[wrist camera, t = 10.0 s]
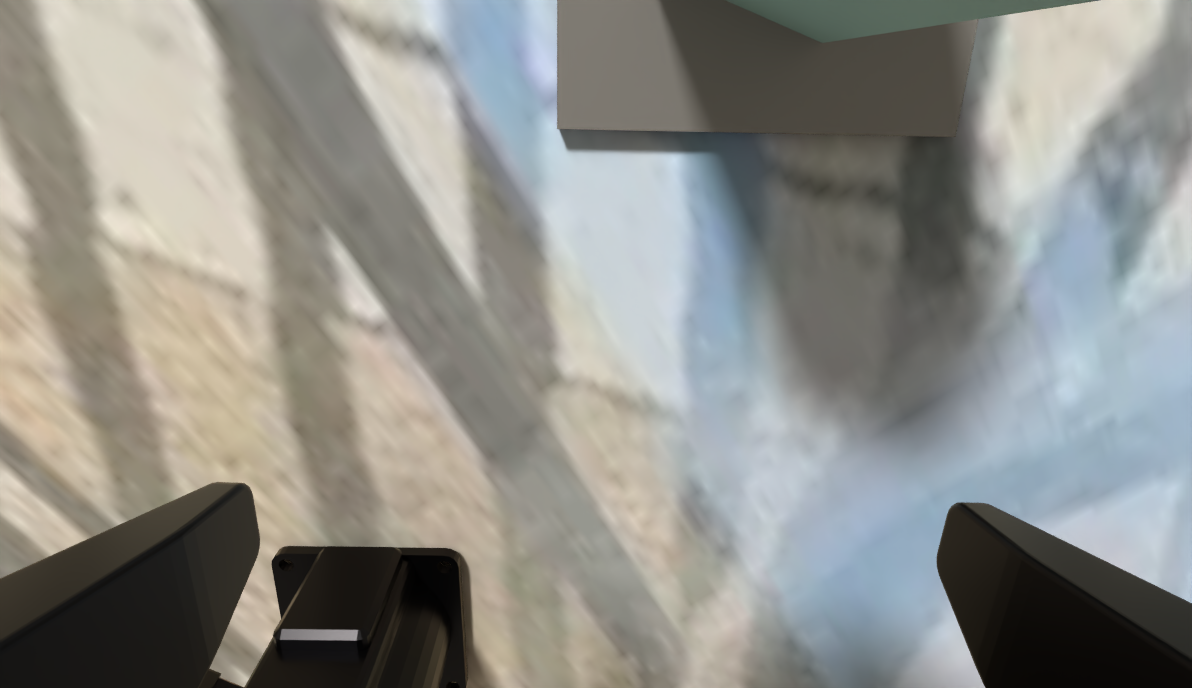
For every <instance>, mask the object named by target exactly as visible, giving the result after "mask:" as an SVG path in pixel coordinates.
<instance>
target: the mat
mask: <svg viewBox="0 0 1192 688" xmlns="http://www.w3.org/2000/svg"><path fill="white" fill-rule="evenodd" d="M977 24H978V19H975V20H969V21H962V22H956V23H949V24H943V25H936V26H930V27H923V28H917V29H910V30H904V31H897V32H891V33H884V34H878V35H871V36H865V37H858V38H852V39H845V40H839V41H832V42H826V43H821V42H819V41H816V40H814V39H812V38H810V37H807V36H805V35H803V34H801V33H798V32H796V31H794V30H791V29H789V28H787V27H785V26H782V25H780V24H778V23H776V22H773V21H771V20H769V19H767V18H764V17H762V16H760V15H757V14H755V13H753V12H751V11H748V10H746V9H744V8H742V7H739V6H737V5H735V4H733V3H730V2H728V1H726V0H557V129H586V130H635V131H684V132H733V133H782V134H832V135H881V136H930V137H955V136H956V131H957V126H958V121H959V116H960V111H961V106H962V101H963V96H964V91H965V85H966V80H967V75H968V70H969V65H970V60H971V55H972V50H973V45H974V40H975V34H976V29H977Z"/></svg>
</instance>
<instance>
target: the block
mask: <svg viewBox="0 0 1192 688" xmlns="http://www.w3.org/2000/svg"><path fill="white" fill-rule="evenodd" d="M726 1H728V2H730V3H733V4H735V5H737V6H739V7H742V8H744V9H746V10H748V11H751V12H753V13H755V14H757V15H760V16H762V17H764V18H767V19H769V20H771V21H773V22H776V23H778V24H780V25H782V26H785V27H787V28H789V29H791V30H794V31H796V32H798V33H801V34H803V35H805V36H807V37H810V38H812V39H814V40H816V41H819V42H821V43H826V42H832V41H839V40H845V39H852V38H858V37H865V36H871V35H878V34H884V33H891V32H897V31H904V30H910V29H917V28H923V27H930V26H936V25H943V24H949V23H956V22H962V21H969V20H975V19H982V18H988V17H995V16H1001V15H1008V14H1014V13H1021V12H1027V11H1034V10H1040V9H1047V8H1053V7H1060V6H1066V5H1073V4H1079V3H1086V2H1092V1H1099V0H726Z"/></svg>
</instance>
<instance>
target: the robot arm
mask: <svg viewBox="0 0 1192 688" xmlns="http://www.w3.org/2000/svg"><path fill="white" fill-rule="evenodd" d="M259 546H260V535H259V529H258V523H257V517H256V511H255V505H254V499H253V494H252V491H251V489H250V487H249V486H247V485H246V484H244V483H225V482H216V483H211V484H209V485H207V486H205V487H202V488H200V489H198V490H196V491H193V492H191V493H189V494H187V495H185V496H182V497H180V498H178V499H176V500H173V501H171V502H169V503H167V504H165V505H162V506H160V507H158V508H156V509H154V510H151V511H149V512H147V513H145V514H142V515H140V516H138V517H136V518H134V519H131V520H129V521H127V522H125V523H122V524H120V525H118V526H116V527H114V528H111V529H109V530H107V531H105V532H103V533H100V534H98V535H96V536H94V537H91V538H89V539H87V540H85V541H83V542H80V543H78V544H76V545H74V546H71V547H69V548H67V549H65V550H63V551H60V552H58V553H56V554H54V555H52V556H49V557H47V558H45V559H43V560H40V561H38V562H36V563H34V564H32V565H29V566H27V567H25V568H23V569H21V570H18V571H16V572H14V573H12V574H9V575H7V576H5V577H3V578H1V579H0V688H466V685H467V680H468V674H467V657H466V640H465V624H464V607H463V591H462V574H461V560H460V556H459V555H458V554H457V552H455V551H454V550H452V549H447V548H394V547H335V546H328V547H311V546H287V547H283V548H281V549H279V551H278V552H277V554H276V555H275V557H274V558H273V560H272V570H273V575H274V581H275V586H276V592H277V598H278V603H279V609H280V614H281V620H280V622H279V624H278V626H277V627H276V629H275V631H274V634H273V638H272V640H271V642H270V643H269V645H268V647H267V649H266V650H265V652H264V654H263V656H262V657H261V659H260V661H259V663H258V664H257V666H256V668H255V670H254V671H253V673H252V675H251V677H250V678H249V680H248V682H247V684H246V685H245V687H242V686H240V685H237V684H235V683H232V682H230V681H227V680H225V679H223V678H220V676H221V673H218V672H216V671H214V670H211V669H209V668H210V666H211V664H212V661H213V659H214V657H215V655H216V653H217V650H218V648H219V646H220V644H221V641H222V639H223V637H224V634H225V632H226V629H227V627H228V625H229V622H230V620H231V618H232V615H233V613H234V611H235V608H236V606H237V603H238V601H239V599H240V596H241V594H242V592H243V589H244V587H245V585H246V582H247V580H248V577H249V575H250V573H251V570H252V568H253V566H254V563H255V561H256V558H257V556H258V552H259ZM284 559H286V560H290V561H291V562H292V563H293V564H290V563H287V562H286V561H285V560H284ZM442 561H445V562H448V563H449V564H451V565H449V566H445V565H443V564H441V563H440V562H442ZM937 569H938V573H939V576H940V579H941V581H942V584H943V586H944V589H945V591H946V594H947V596H948V599H949V601H950V604H951V606H952V609H953V611H954V614H955V616H956V619H957V621H958V624H959V626H960V629H961V631H962V633H963V636H964V638H965V641H966V643H967V646H968V648H969V651H970V653H971V656H972V658H973V661H974V663H975V666H976V668H977V670H978V673H979V675H980V677H981V679H982V682H983V684H984V686H985V688H1192V603H1190V602H1188V601H1186V600H1184V599H1182V598H1180V597H1178V596H1176V595H1173V594H1171V593H1169V592H1167V591H1165V590H1163V589H1161V588H1159V587H1157V586H1155V585H1153V584H1151V583H1149V582H1147V581H1145V580H1143V579H1141V578H1139V577H1137V576H1135V575H1133V574H1131V573H1129V572H1126V571H1124V570H1122V569H1120V568H1118V567H1116V566H1114V565H1112V564H1110V563H1108V562H1106V561H1104V560H1102V559H1100V558H1098V557H1096V556H1094V555H1092V554H1090V553H1088V552H1086V551H1084V550H1082V549H1079V548H1077V547H1075V546H1073V545H1071V544H1069V543H1067V542H1065V541H1063V540H1061V539H1059V538H1057V537H1055V536H1053V535H1051V534H1049V533H1047V532H1045V531H1043V530H1041V529H1039V528H1037V527H1035V526H1032V525H1030V524H1028V523H1026V522H1024V521H1022V520H1020V519H1018V518H1016V517H1014V516H1012V515H1010V514H1008V513H1006V512H1004V511H1002V510H1000V509H998V508H996V507H994V506H992V505H989V504H985V503H962V502H961V503H956V504H954V505H952V506H951V508H950V509H949V511H948V514H947V517H946V521H945V525H944V529H943V533H942V537H941V541H940V545H939V549H938V553H937ZM452 681H453V682H456V683H452Z"/></svg>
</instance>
